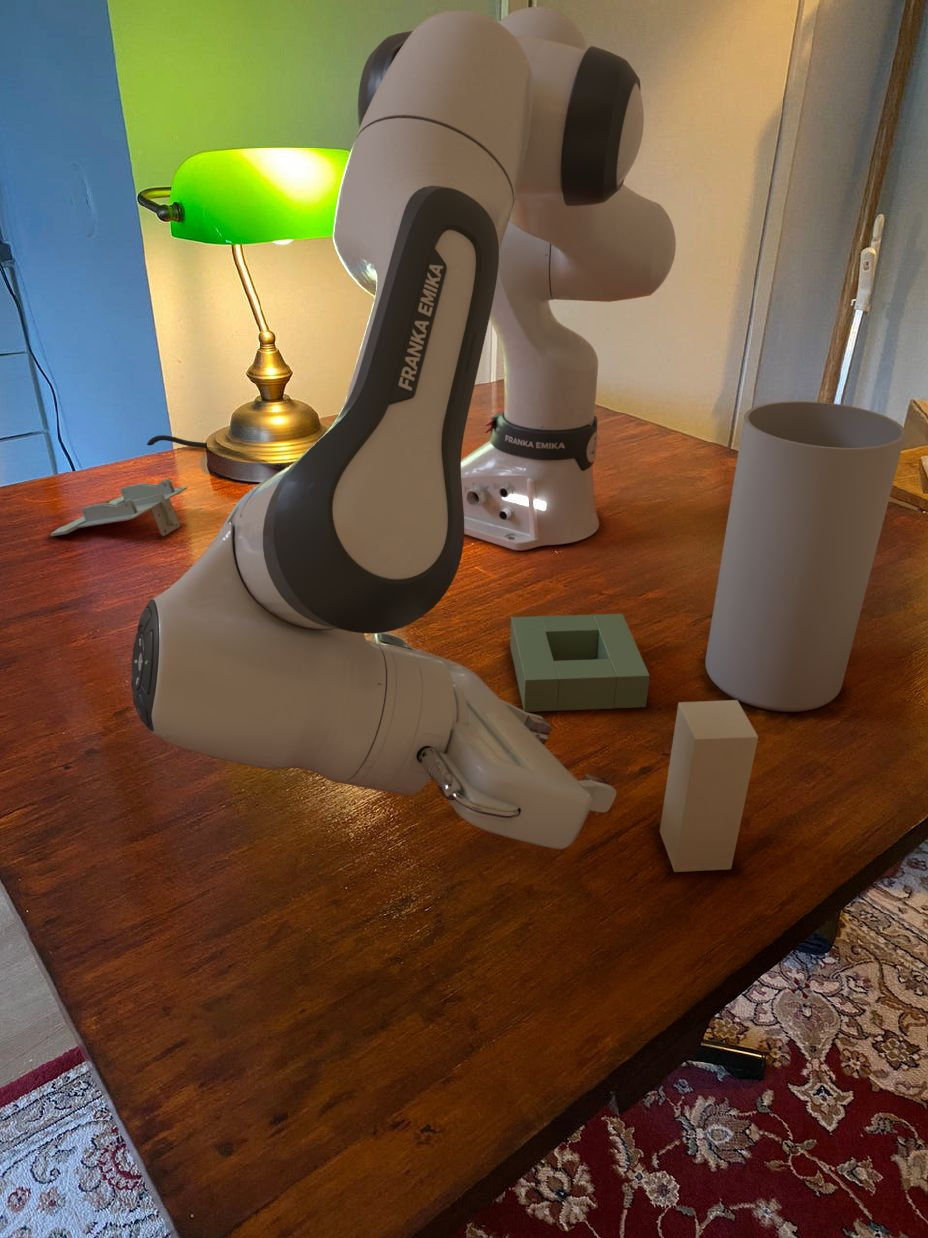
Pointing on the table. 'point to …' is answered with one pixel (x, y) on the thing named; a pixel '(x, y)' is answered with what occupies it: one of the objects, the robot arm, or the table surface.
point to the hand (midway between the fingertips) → (574, 762)
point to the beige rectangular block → (707, 784)
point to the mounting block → (577, 663)
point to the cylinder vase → (799, 550)
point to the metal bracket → (132, 508)
